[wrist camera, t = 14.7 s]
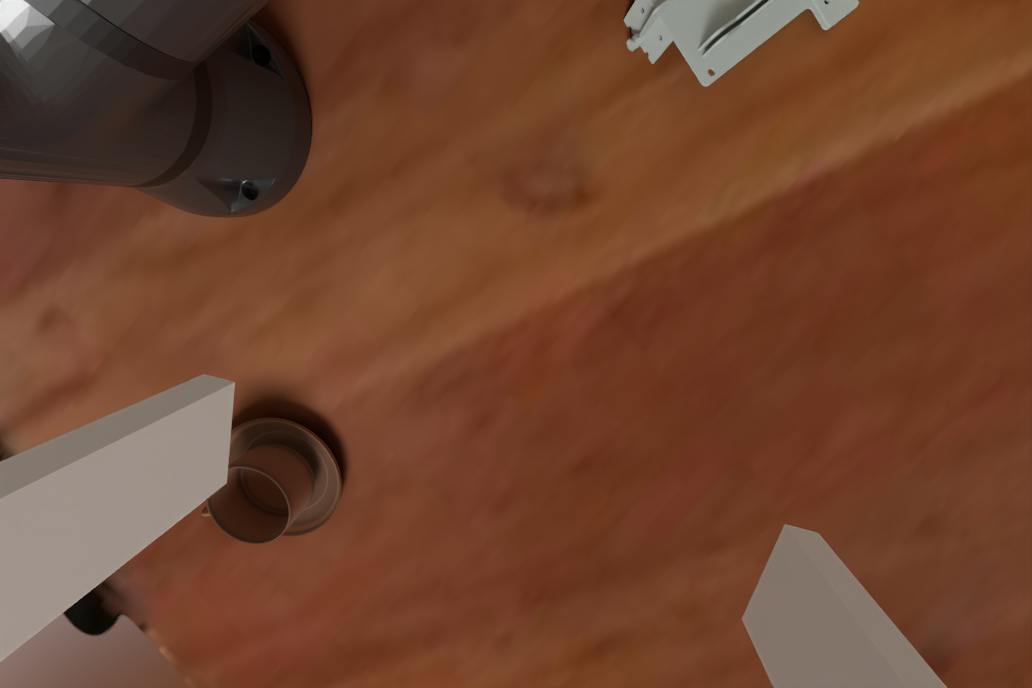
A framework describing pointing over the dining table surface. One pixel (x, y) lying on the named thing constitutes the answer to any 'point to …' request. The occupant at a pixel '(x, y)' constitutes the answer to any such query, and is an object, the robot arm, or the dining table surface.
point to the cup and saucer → (275, 483)
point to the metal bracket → (719, 27)
